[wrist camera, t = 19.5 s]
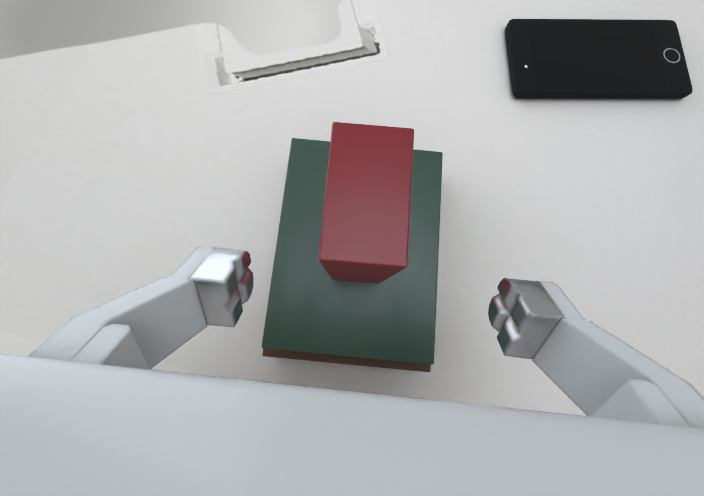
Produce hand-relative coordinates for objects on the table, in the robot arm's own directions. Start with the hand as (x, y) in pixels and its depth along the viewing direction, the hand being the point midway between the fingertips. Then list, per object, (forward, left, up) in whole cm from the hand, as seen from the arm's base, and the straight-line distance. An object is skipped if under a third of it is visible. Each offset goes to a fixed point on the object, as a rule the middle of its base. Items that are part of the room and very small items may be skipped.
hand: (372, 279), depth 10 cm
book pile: (+3, 0, -17) cm, 18 cm away
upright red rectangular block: (+4, 0, -12) cm, 12 cm away
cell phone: (+27, -23, -17) cm, 39 cm away
